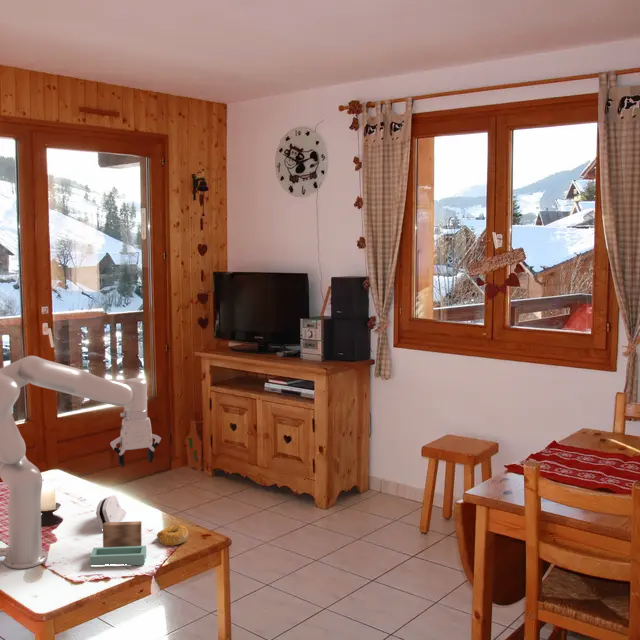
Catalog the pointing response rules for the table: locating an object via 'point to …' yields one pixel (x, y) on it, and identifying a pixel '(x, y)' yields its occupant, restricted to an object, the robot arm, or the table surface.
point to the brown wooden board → (122, 534)
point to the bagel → (173, 535)
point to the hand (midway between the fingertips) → (136, 463)
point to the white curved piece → (109, 511)
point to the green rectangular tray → (118, 555)
